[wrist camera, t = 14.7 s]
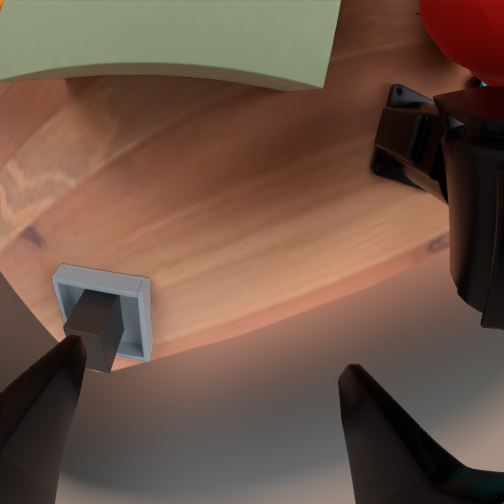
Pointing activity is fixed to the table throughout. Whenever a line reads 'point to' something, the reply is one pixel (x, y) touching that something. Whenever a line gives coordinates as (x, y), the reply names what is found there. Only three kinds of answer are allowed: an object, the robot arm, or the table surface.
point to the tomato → (469, 34)
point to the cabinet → (170, 40)
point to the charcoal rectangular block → (97, 327)
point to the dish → (131, 298)
